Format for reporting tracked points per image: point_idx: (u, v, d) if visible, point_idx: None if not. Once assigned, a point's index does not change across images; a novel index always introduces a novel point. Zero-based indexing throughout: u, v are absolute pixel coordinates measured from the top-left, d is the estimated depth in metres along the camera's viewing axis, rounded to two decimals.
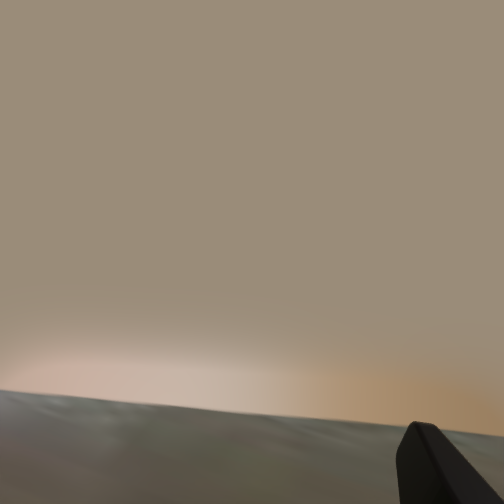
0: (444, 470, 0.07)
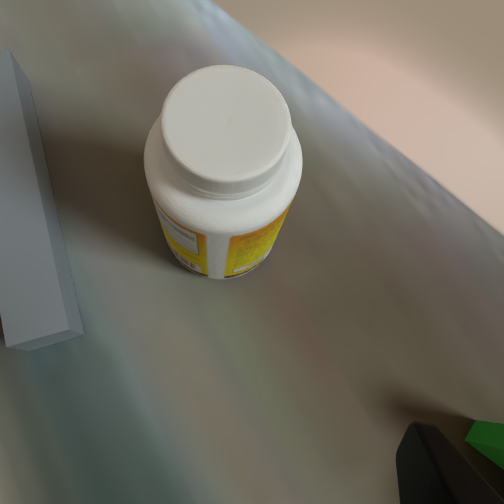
0: (444, 470, 0.07)
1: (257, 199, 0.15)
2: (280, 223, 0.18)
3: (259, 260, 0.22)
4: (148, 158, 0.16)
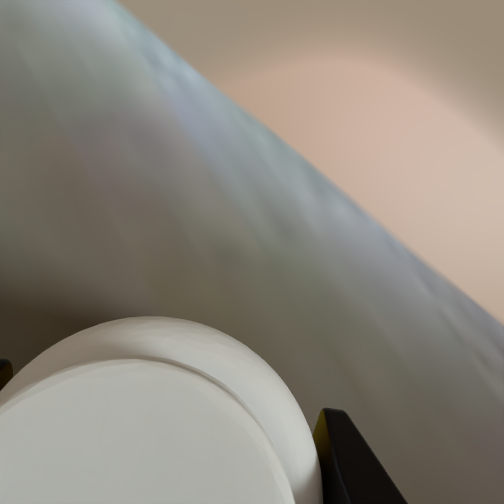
0: (340, 455, 0.07)
1: None
2: None
3: None
4: None
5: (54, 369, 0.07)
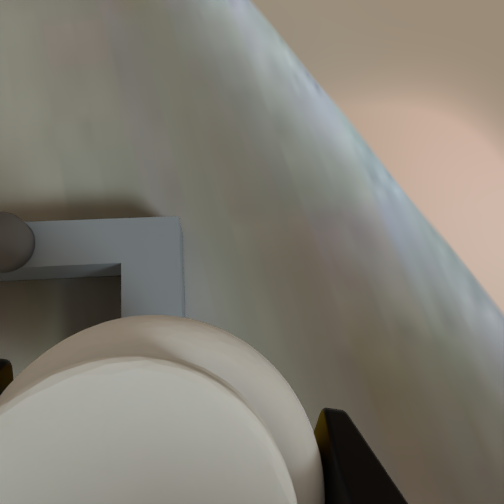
0: (341, 455, 0.07)
1: None
2: None
3: None
4: None
5: (59, 367, 0.07)
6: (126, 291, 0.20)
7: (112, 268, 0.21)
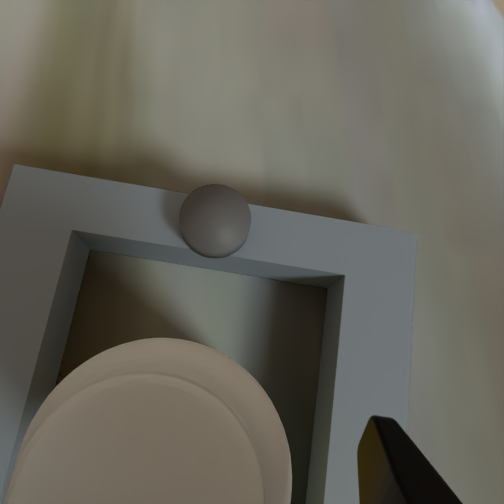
0: (397, 463, 0.07)
1: None
2: None
3: None
4: None
5: (89, 379, 0.09)
6: (348, 311, 0.16)
7: (323, 278, 0.17)
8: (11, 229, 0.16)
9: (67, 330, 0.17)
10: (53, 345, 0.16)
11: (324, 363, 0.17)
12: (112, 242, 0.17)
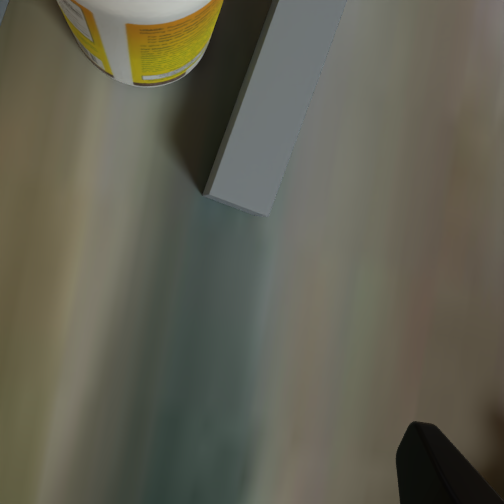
0: (444, 470, 0.07)
1: None
2: (201, 27, 0.14)
3: (178, 73, 0.18)
4: None
5: None
6: None
7: None
8: None
9: None
10: None
11: None
12: None
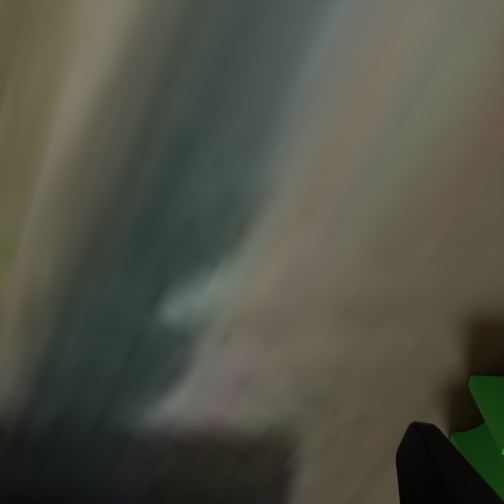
0: (444, 470, 0.07)
1: None
2: None
3: None
4: None
5: None
6: None
7: None
8: None
9: None
10: None
11: None
12: None
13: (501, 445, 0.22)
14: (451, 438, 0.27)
